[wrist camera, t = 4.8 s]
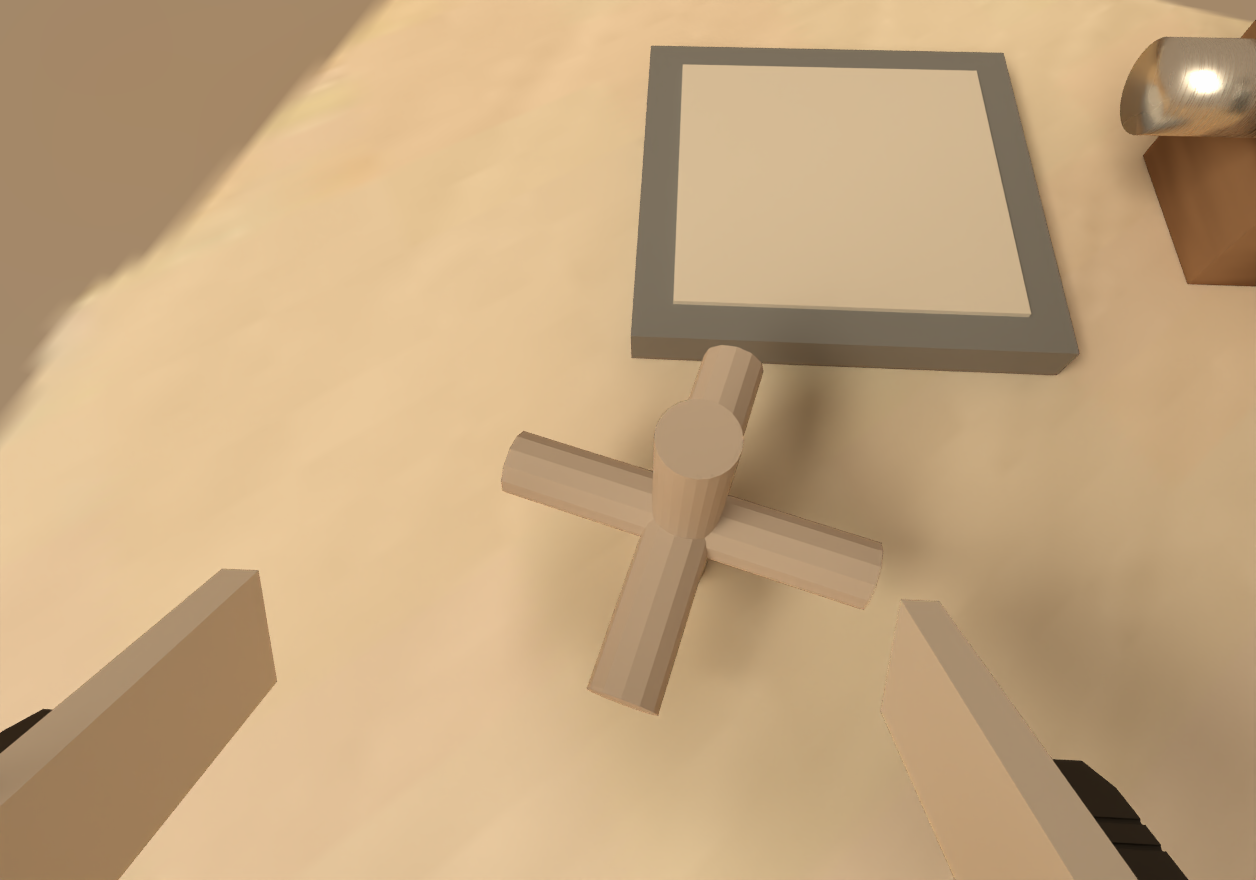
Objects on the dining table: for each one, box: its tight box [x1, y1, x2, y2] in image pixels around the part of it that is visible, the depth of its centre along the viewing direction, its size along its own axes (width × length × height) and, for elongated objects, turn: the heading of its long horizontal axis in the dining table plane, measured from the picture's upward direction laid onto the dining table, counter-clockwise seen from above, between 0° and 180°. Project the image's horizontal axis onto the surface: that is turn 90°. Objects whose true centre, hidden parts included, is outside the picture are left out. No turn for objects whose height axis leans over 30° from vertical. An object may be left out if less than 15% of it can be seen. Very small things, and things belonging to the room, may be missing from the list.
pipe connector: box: [501, 345, 883, 715], centre depth 18 cm, size 10×10×10 cm
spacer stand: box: [631, 20, 1256, 375], centre depth 25 cm, size 26×16×9 cm, turn 87°
